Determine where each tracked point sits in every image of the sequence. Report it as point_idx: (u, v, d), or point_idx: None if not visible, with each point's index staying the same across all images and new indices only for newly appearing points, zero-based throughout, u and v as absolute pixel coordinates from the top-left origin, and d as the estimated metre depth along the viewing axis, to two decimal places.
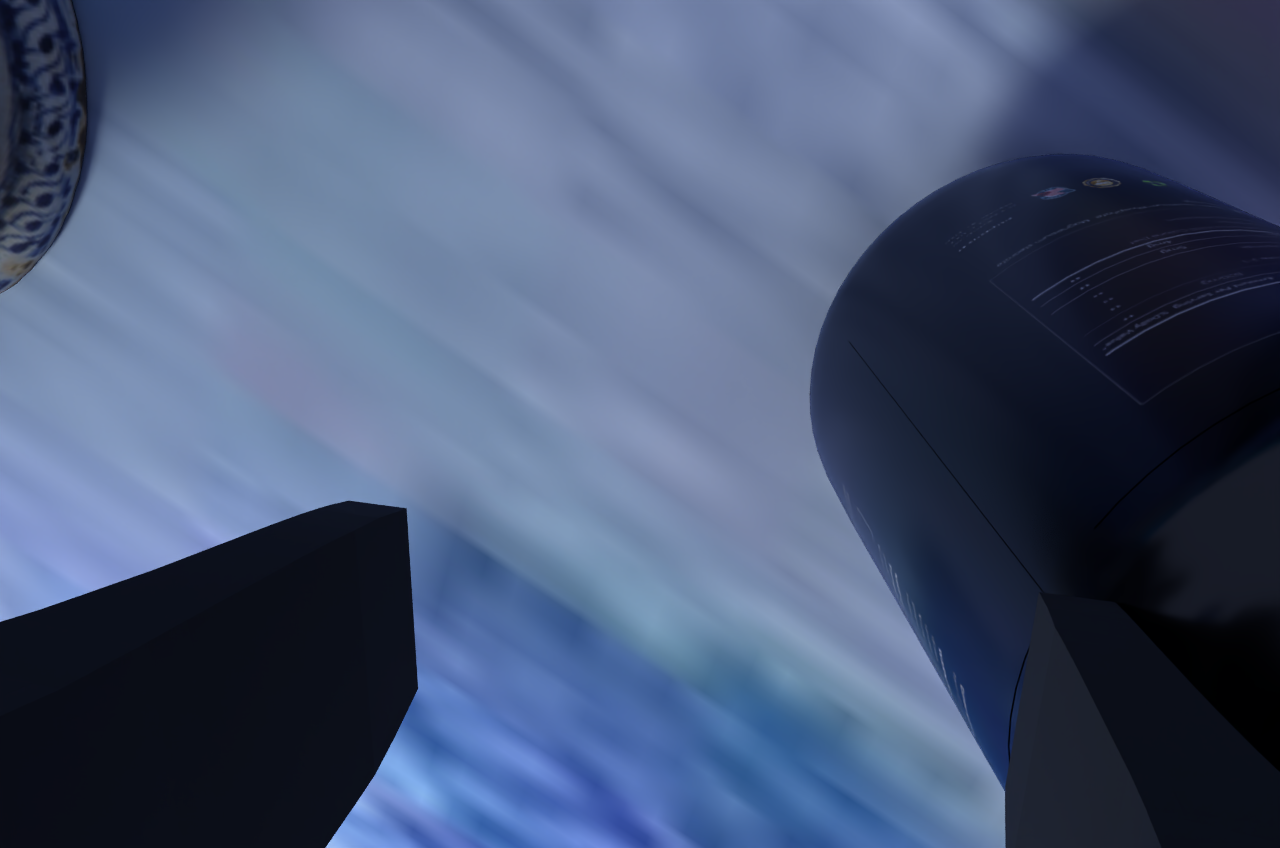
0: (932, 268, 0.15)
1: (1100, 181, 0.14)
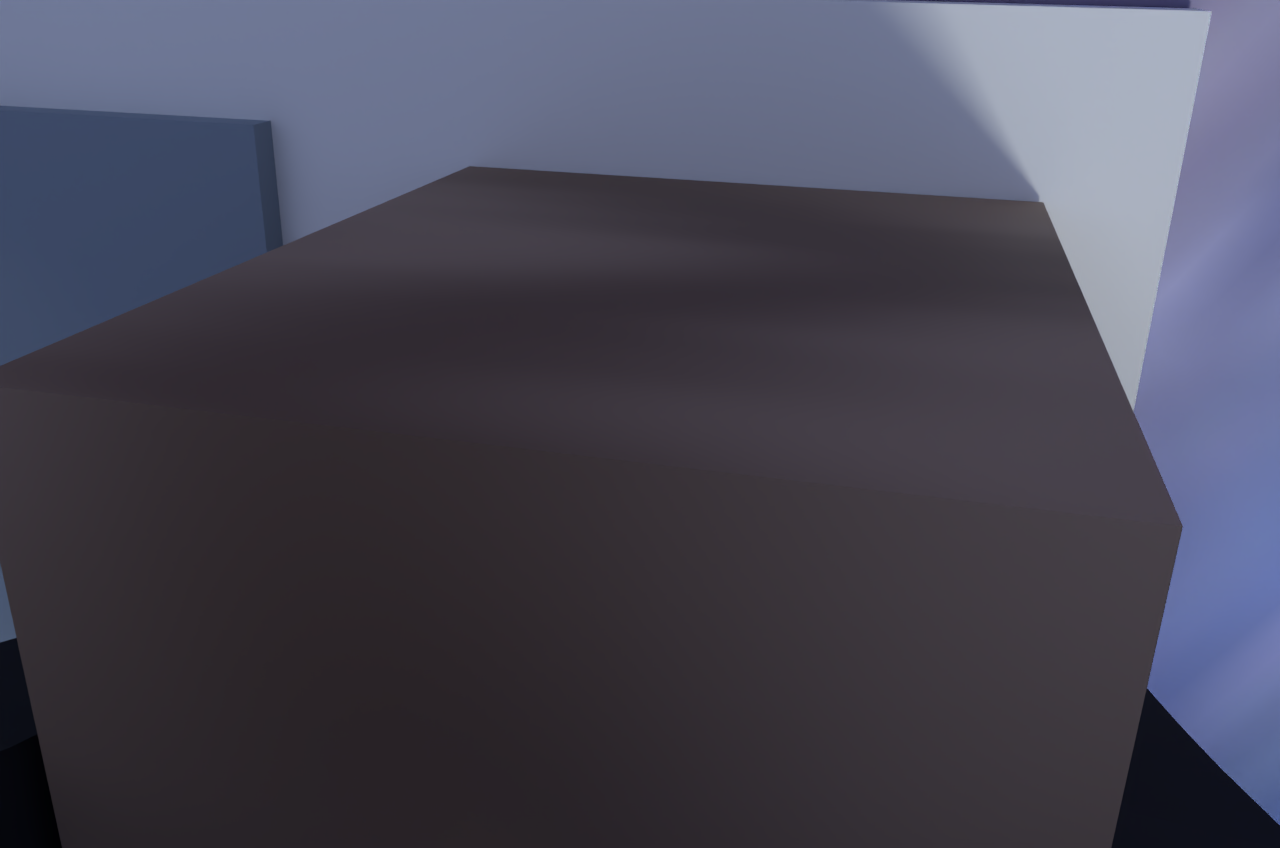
0: None
1: None
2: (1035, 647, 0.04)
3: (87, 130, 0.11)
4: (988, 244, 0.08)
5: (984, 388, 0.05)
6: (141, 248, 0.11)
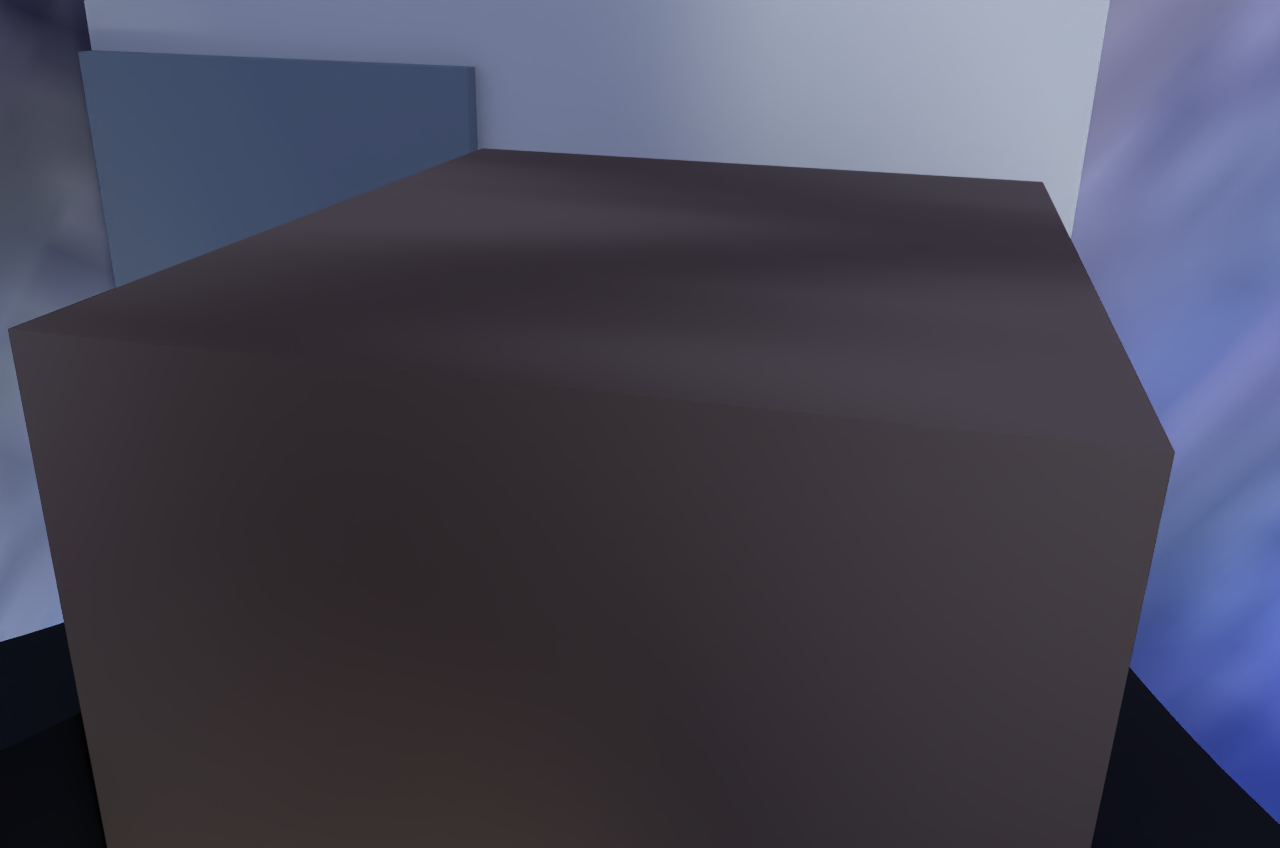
0: None
1: None
2: (1035, 572, 0.04)
3: (345, 74, 0.16)
4: (988, 217, 0.08)
5: (984, 337, 0.05)
6: (378, 158, 0.16)
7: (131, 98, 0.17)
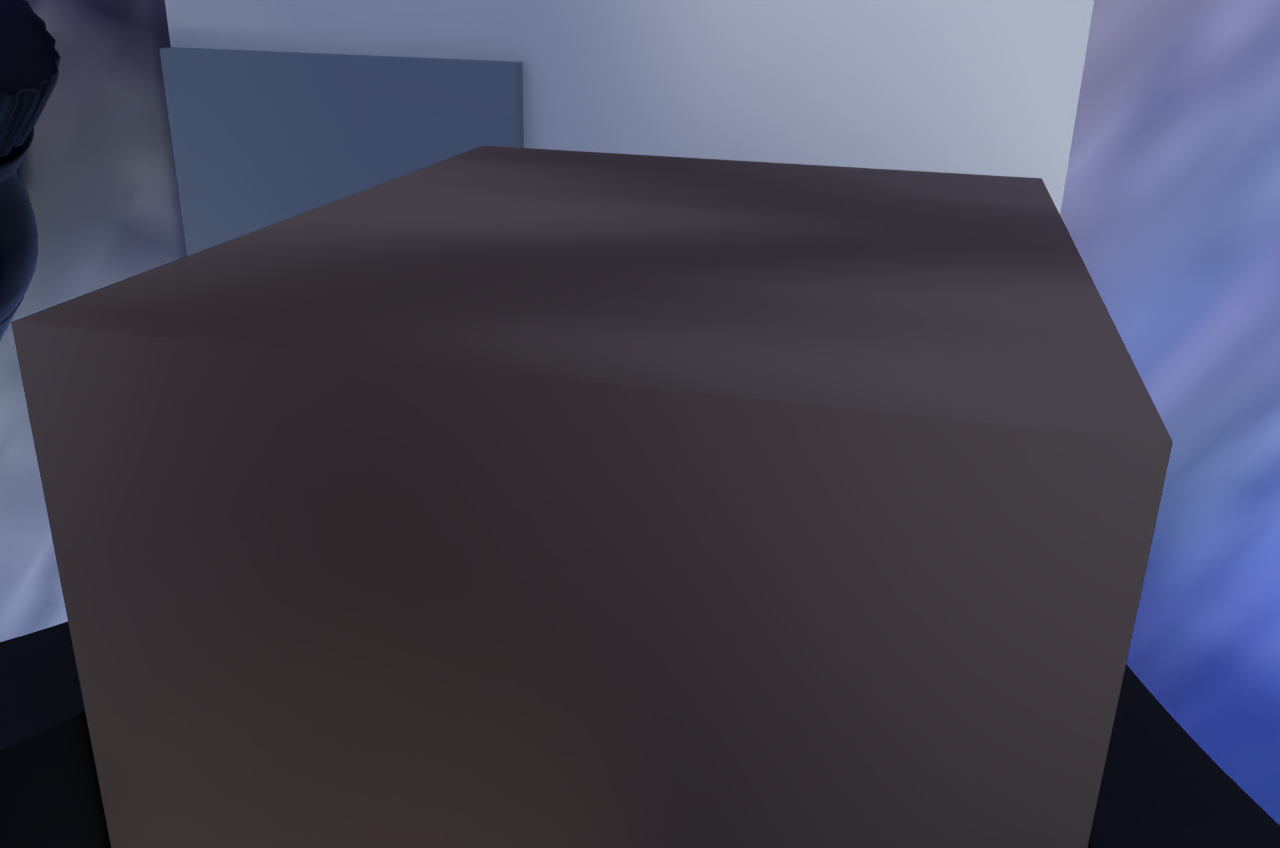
0: None
1: None
2: (1033, 563, 0.04)
3: (404, 68, 0.17)
4: (988, 212, 0.08)
5: (985, 331, 0.05)
6: (433, 144, 0.18)
7: (207, 90, 0.18)
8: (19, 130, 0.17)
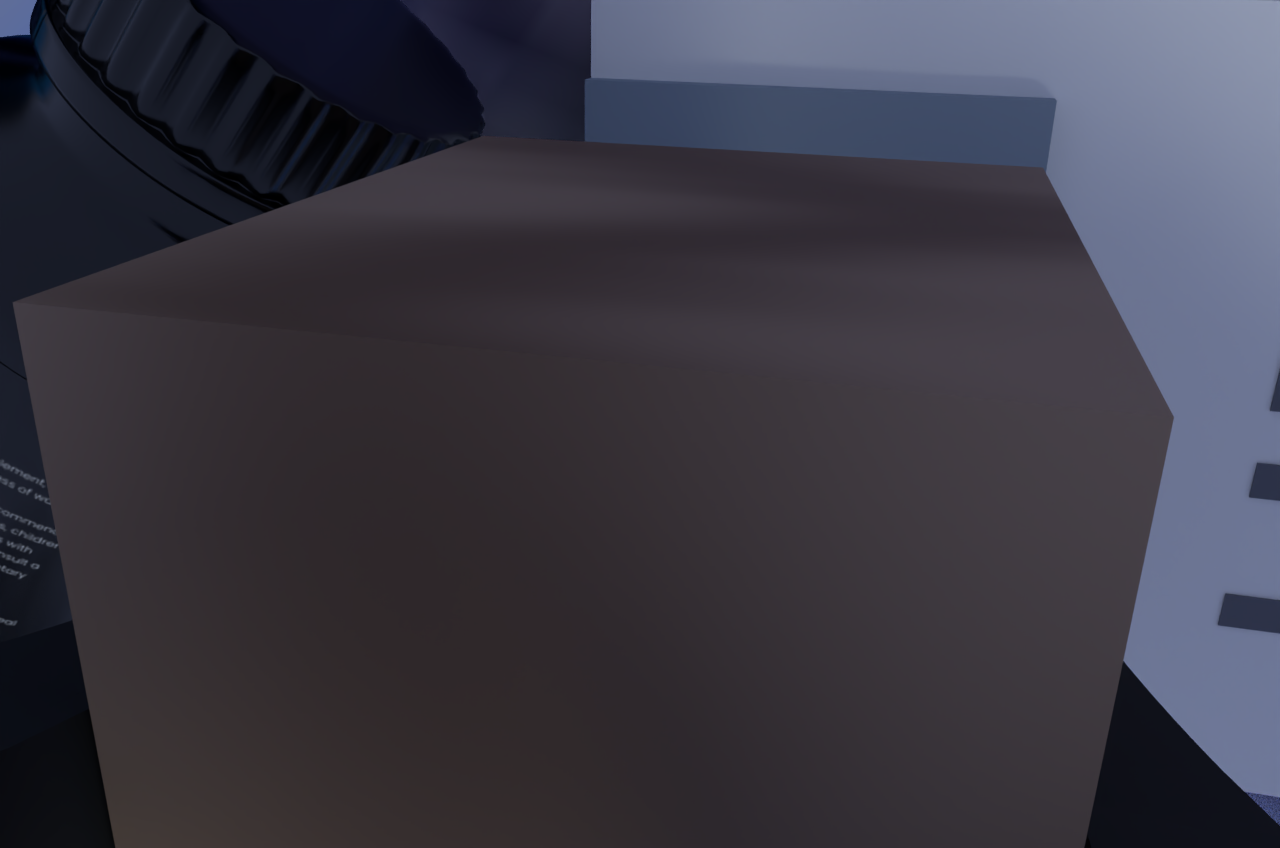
0: None
1: None
2: (1036, 540, 0.04)
3: (906, 105, 0.14)
4: (988, 199, 0.08)
5: (985, 313, 0.05)
6: None
7: (640, 129, 0.15)
8: None
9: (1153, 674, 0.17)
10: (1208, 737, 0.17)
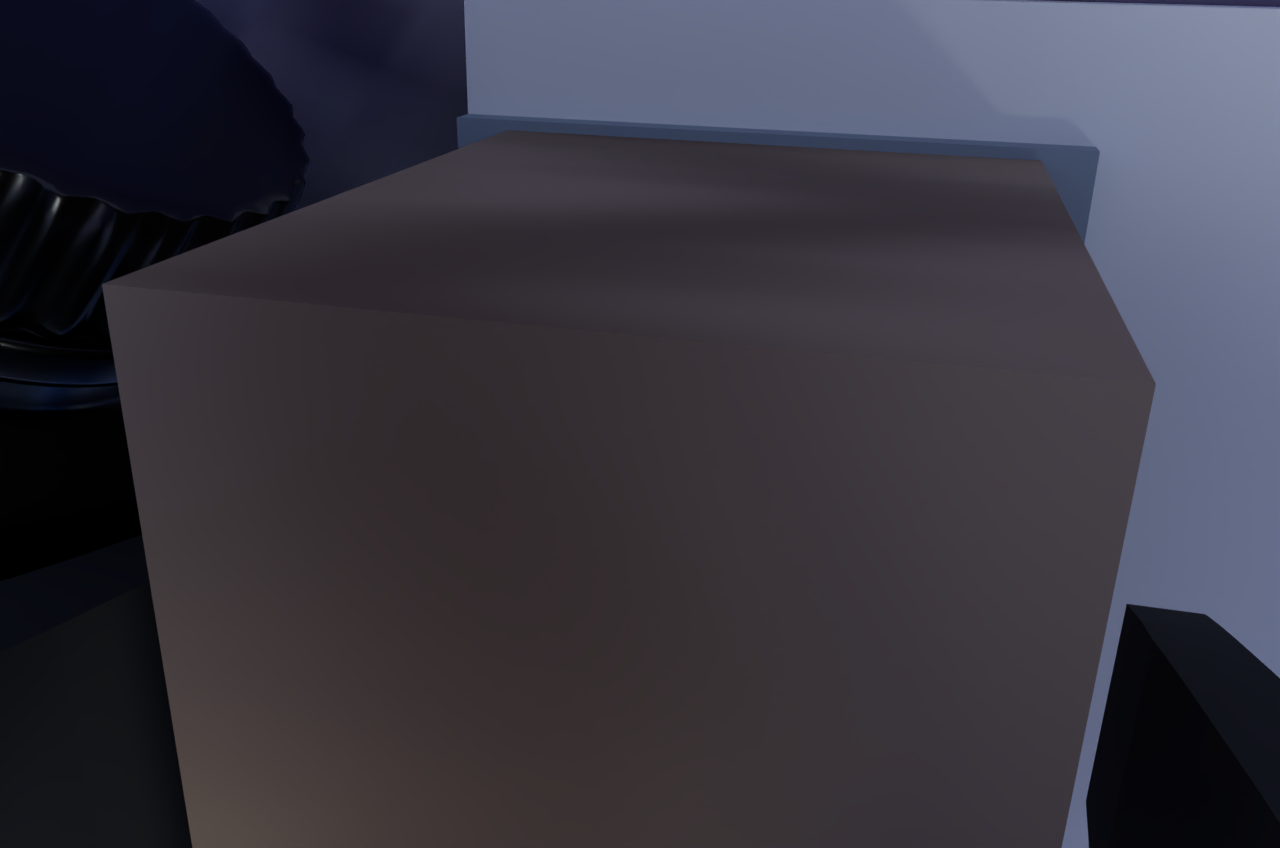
0: None
1: None
2: (1031, 494, 0.05)
3: None
4: (991, 190, 0.09)
5: (988, 293, 0.06)
6: None
7: None
8: None
9: None
10: None
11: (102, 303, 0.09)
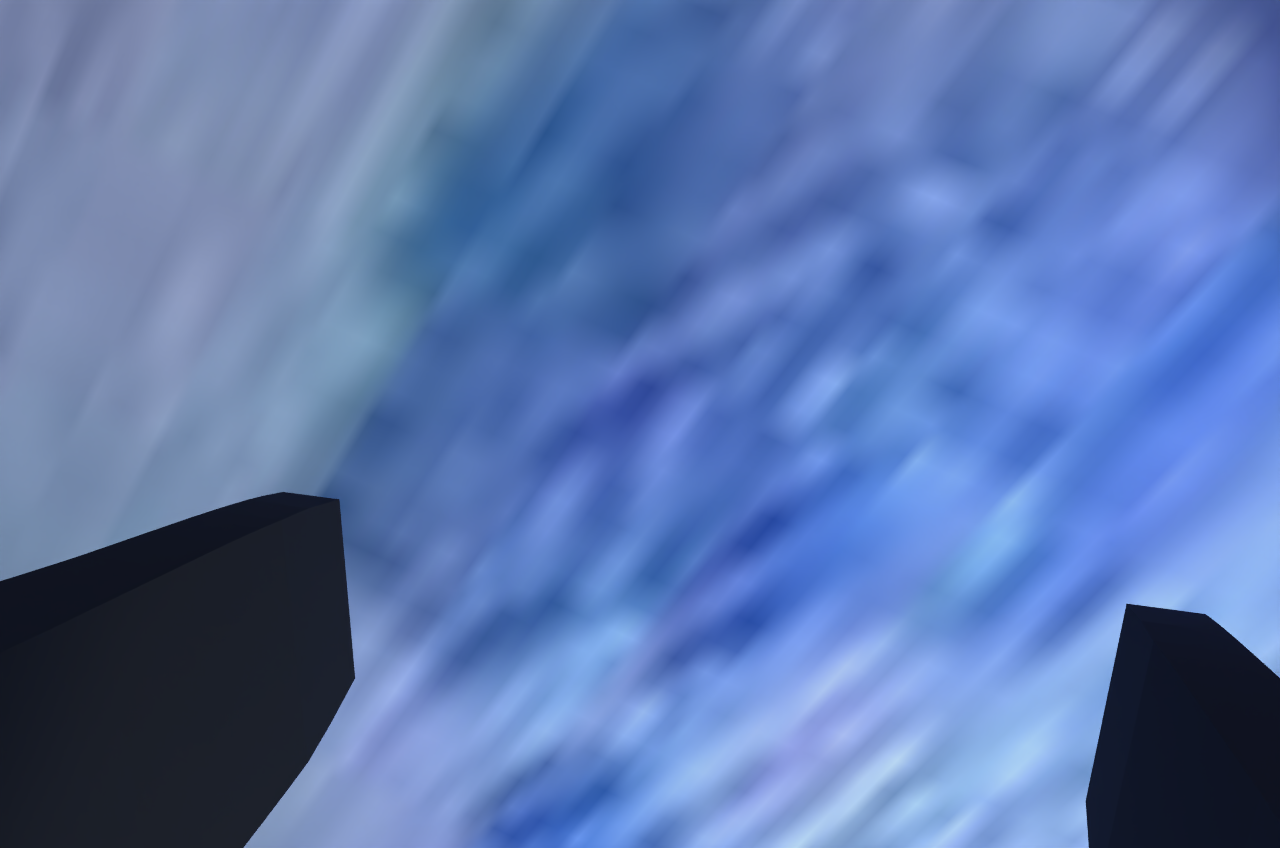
0: None
1: None
2: None
3: None
4: None
5: None
6: None
7: None
8: None
9: None
10: None
11: None
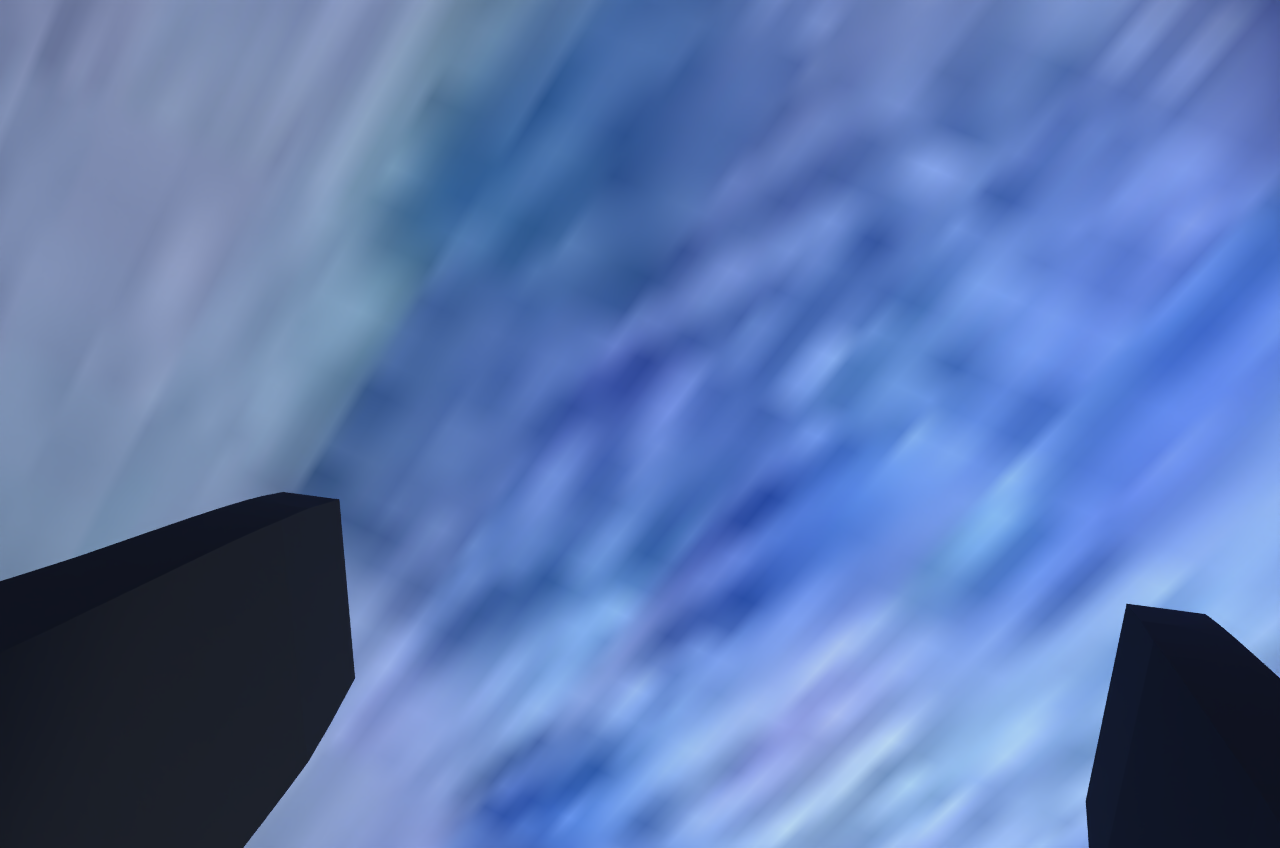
0: None
1: None
2: None
3: None
4: None
5: None
6: None
7: None
8: None
9: None
10: None
11: None
